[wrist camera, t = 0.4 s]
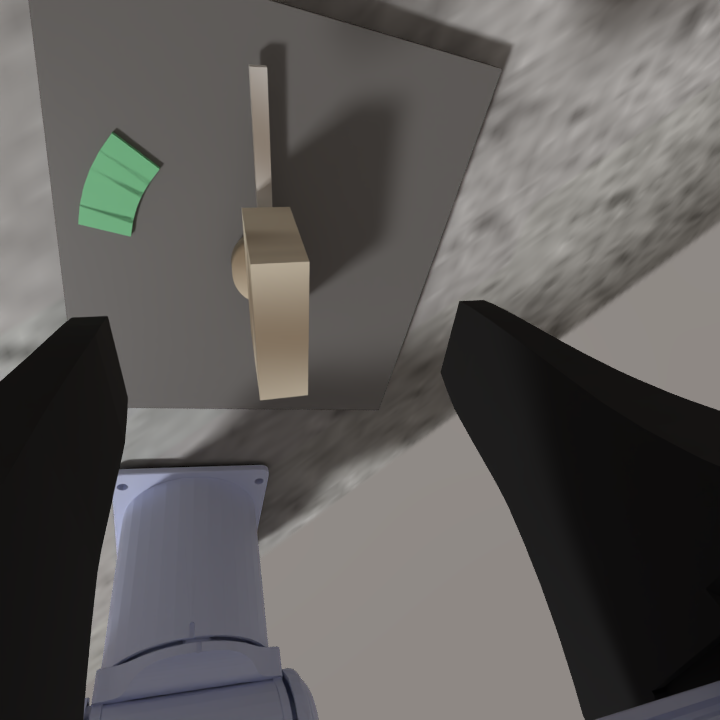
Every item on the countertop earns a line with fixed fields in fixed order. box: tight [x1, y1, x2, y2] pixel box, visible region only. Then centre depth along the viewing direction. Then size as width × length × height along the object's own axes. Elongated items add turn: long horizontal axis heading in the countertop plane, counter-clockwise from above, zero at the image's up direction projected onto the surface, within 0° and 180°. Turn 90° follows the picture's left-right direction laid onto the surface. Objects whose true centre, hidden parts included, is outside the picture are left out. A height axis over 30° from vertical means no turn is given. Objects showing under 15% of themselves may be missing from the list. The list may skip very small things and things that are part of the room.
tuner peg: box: [231, 65, 310, 400], centre depth 15 cm, size 9×3×5 cm, turn 175°
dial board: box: [29, 0, 502, 410], centre depth 19 cm, size 16×14×1 cm
